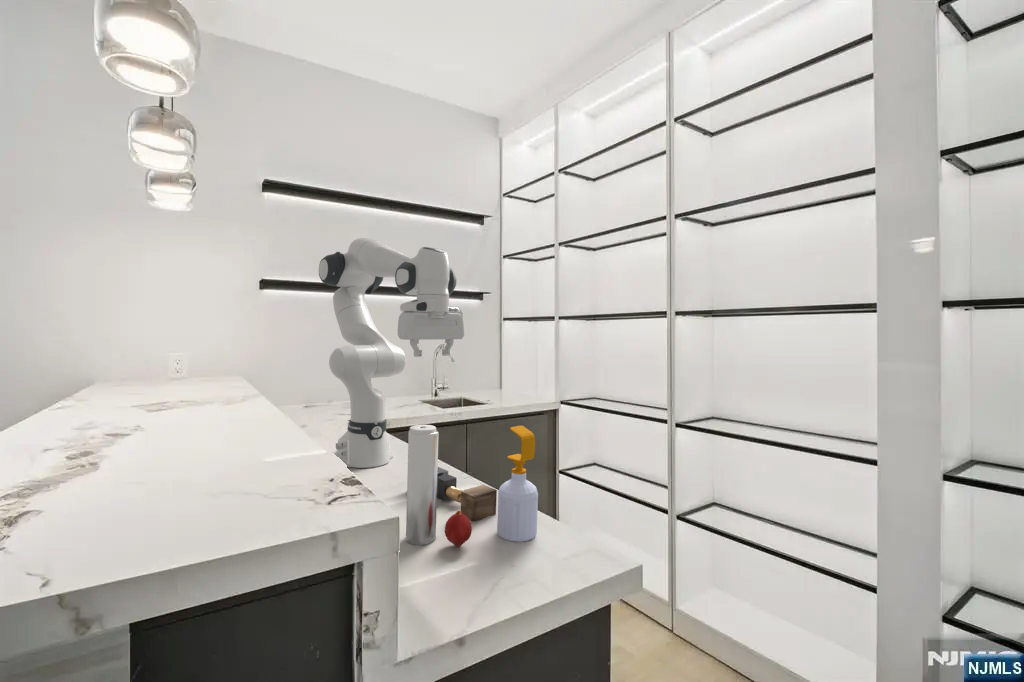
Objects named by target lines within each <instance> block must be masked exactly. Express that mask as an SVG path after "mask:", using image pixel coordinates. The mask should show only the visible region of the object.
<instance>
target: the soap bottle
mask: <svg viewBox="0 0 1024 682" xmlns="http://www.w3.org/2000/svg"><path fill="white" fill-rule="evenodd" d="M509 430H510V431H511V432H512V433H514V434H515V435H517V437H519V439H520V442H521V449H520V450H521V451H520V453H516V454H511V455H508V456H507V459H508V460H511V461H513V464H515V467H514V468H511V478H510V479H507V481H505V482H504V483H502V484H501V485H500V487H499V489H498V491H497V493H498V497H497V525H496V526H497V528H496V531H497V532H496V533H497V535H498V536H499V537H500V538H502V539H504V540H506V541H509V542H514V543H515V542H518V543H521V542H527V541H530V540H532V539H534V538H535V537H536V535H537V532H538V531H537V530H538V510H539V509H538V507H539V506H538V505H539V491H538V489H537V487H536V485H534V483H532V482H531V481H529V480H527V469H526V468H524V465H525V464H526V461H530V460H533V459H534V458H535V453H536V436H535V434H534V433H533V431H531V430H530V429H528V428H527V427H525V426H524V425H516V426H511V427H510V428H509Z"/></svg>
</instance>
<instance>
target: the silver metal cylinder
mask: <svg viewBox="0 0 1024 682" xmlns="http://www.w3.org/2000/svg"><path fill="white" fill-rule="evenodd" d="M439 433H440V432H439V431H438V429H437V427H436V426H434V425H432V424H415V425H412V426H410V427H409V430H408V436H407V437H408V439H407V440H408V441H407V442H408V444H407V447H408V448H407V479H406V481H407V487H406V520H405V521H406V526H405V541H406V542H407V543H408V544H410V545H411V546H427V545H431V544H432V543H433V542H435V540H436V538H437V507H438V506H437V505H438V503H437V502H438V498H437V472H438V467H439V463H438V460H439Z"/></svg>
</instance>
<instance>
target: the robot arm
mask: <svg viewBox="0 0 1024 682" xmlns="http://www.w3.org/2000/svg"><path fill="white" fill-rule="evenodd" d="M318 276H319V279H320V281H321V282H322V283H323V284H325V285H327V286H331V287H339V288H338V289H336V290H335V291H334V293H333V296H332V301H333V302H332V303H333V310H334V315H335V319H336V321H337V324H338V328H339V330H340V334H341V336H342V338H343V339H344V340H345V341H346V342H347V343H349V344H350V345H345V346H340V347H336V348H335V349H334V350H333V351H332V353H331V354H330V355H329V362H328V363H329V364H328V365H329V369H330V372H331V373H332V375H333V376H334V377H336V378H337V379H338V380H340V382H342V383H343V385H344V387H345V388H346V390H347V393H348V395H349V403H350V419H348V420H347V429H346V431H345V433H344V434H343V435H342V436H341V437H339V438H338V440H337V442H336V444H335V451H332V452H331V453H334V454H335V455H336V456H337V457H339V458H340V459H341V460H342V461H343V462H344V463H345V464H346V465H347V467H346V468H357V469H360V468H362V469H363V468H365V469H367V468H376V467H380V466H383V465H386V464H388V463H390V460H391V459H392V458H394V454H393V453H391V447H390V434H389V433H388V432H387V426H388V423H387V418H386V405H387V404H386V402H387V399H386V396H385V394H384V393H383V392H382V391H380V390H379V389H377V388H375V387H373V385H372V379H374V378H387V377H392V376H395V375H399V374H401V373H402V372H403V371H404V369H405V367H406V364H407V358H406V353H405V352H404V350H403V349H402V347H400V346H398V345H396V344H394V343H392V341H390V340H388V339H387V338H386V337H385V336H384V335H383V334H382V333H381V332H380V330H379V329H378V328H377V326H376V324H375V322H374V320H373V317H372V315H371V312H370V309H369V308H368V305H367V303H366V300H365V294H367V295H370V294H373V292H374V291H375V290H376V289H378V288H379V286H380V285H381V284H382V282H383V280H384V278H394V280H395V285H396V288H397V289H398V290H399V291H400V292H401V294H405V295H409V296H416V299H413V300H409V301H406V302H403V303H401V304H400V305H399V306H400V307H399V310H400V312H401V313H400V314H399V316H398V321H397V336H398V338H399V339H400V340H402V341H403V340H406V341H407V340H408V341H409V345H410V347H411V348H412V350H413V357H417V358H418V357H419V358H420V357H422V356H423V350H422V349H420V348H419V346H418V345H419V343H420V340H423V341H424V340H426V341H428V340H444V343H445V346H444V348H443V349H441V352H442V353H441V355H442V356H450V355H451V348H452V347H453V345H454V340H462V339H464V337H465V327H464V320H463V318H464V317H463V311H462V310H461V309H460V308H459V307H458V306H457V307H456V306H455V307H451V306H450V295H451V294H452V293H453V292H454V291H455V289H456V286H457V278H456V277H457V276H456V274H455V272H454V270H453V269H452V267H451V266H450V261H449V256H448V253H447V251H445V250H444V249H440V248H433V247H429V246H423V247H421V248H419V250H418V251H417V254H416V255H415V256H414V257H411V256H409V255H406V254H405V253H403V252H401V251H398V250H397V249H394V248H393V247H391V246H389V245H387V244H385V243H383V242H382V241H378V240H376V239H373V238H367V237H359V238H356V239H354V240H352V242H351V243H350V245H349V247H348V250H347V252H346V253H341V252H340V251H336V252H334V253H332V254H327V255H325V256H324V257H323V258H321V260H320V261H319V266H318Z"/></svg>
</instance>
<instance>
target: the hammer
mask: <svg viewBox="0 0 1024 682" xmlns="http://www.w3.org/2000/svg"><path fill="white" fill-rule="evenodd" d="M461 491H463V490H462V489H459V488H458V487H457V477H456V476H453V475H451V474H449V473H448V474H446V475H442V476H438V477H437V500H440V501H442V502H447V501H451V500H452V501H454V502H456V503H459V504H461Z"/></svg>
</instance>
